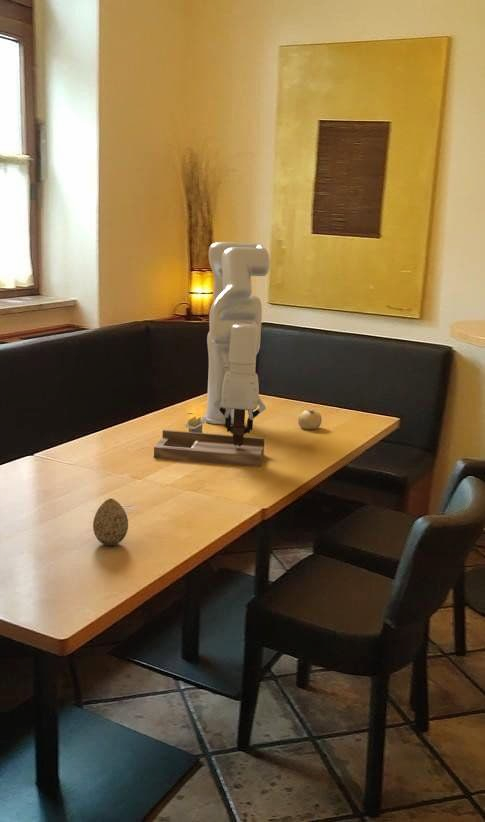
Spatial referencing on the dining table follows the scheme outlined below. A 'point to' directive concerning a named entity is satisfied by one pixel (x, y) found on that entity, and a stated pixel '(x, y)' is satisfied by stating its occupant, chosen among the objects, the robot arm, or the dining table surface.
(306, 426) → the onion
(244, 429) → the bolt
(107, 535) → the decorative egg
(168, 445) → the brown wooden long tray
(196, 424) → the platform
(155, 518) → the dining table surface
